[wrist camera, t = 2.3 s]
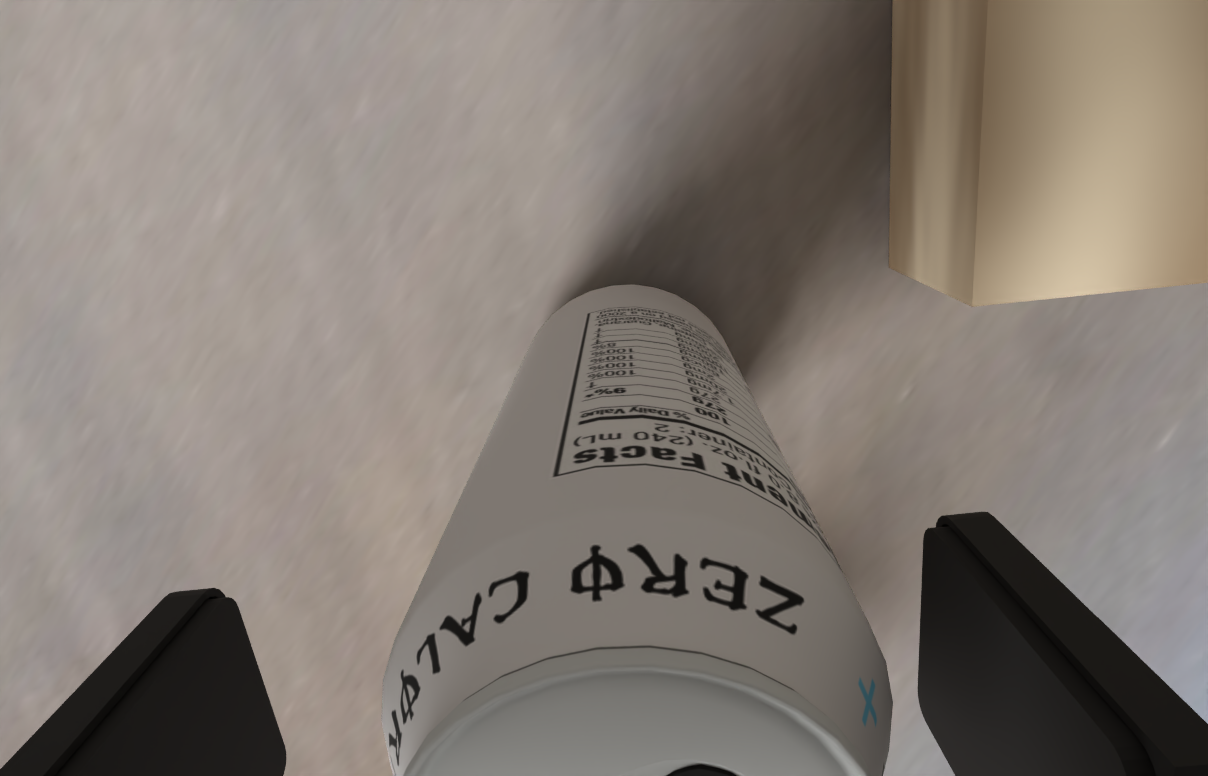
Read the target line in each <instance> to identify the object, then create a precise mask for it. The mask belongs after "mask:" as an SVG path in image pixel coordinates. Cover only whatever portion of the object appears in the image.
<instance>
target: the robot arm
mask: <svg viewBox="0 0 1208 776" xmlns="http://www.w3.org/2000/svg"><path fill="white" fill-rule="evenodd" d="M918 698H919V704H920V708H921V711H922V714H923V717H924V719H925V721H926V723H927V725H928V727H929V728H930V730H931V732H932V734H933V736H934V738H935V739H936V741H937V743H938V745H939V747H940V748H941V750H942V752H943V754H944V756H945V758H946V759H947V761H948V763H949V765H950V767H951V768H952V770H953V772H954V774H955V776H1208V724H1207V723H1206V722H1205V721H1204V720H1203V719H1202V718H1201V717H1200V716H1199V715H1198V714H1197V713H1196V712H1195V711H1194V710H1193V709H1192V708H1191V707H1190V706H1189V705H1188V704H1187V703H1186V702H1185V701H1183V700H1182V699H1181V698H1180V697H1179V696H1178V695H1177V694H1176V693H1175V692H1174V691H1173V690H1172V689H1171V688H1170V687H1169V686H1168V685H1167V684H1166V683H1165V682H1164V681H1163V680H1162V679H1161V678H1160V677H1159V676H1158V675H1157V674H1156V673H1155V672H1154V671H1153V670H1152V669H1151V668H1150V667H1148V666H1147V665H1146V664H1145V663H1144V662H1143V661H1142V660H1141V659H1140V658H1139V657H1138V656H1137V655H1136V654H1135V653H1134V652H1133V651H1132V650H1131V649H1130V648H1129V647H1128V646H1127V645H1126V644H1125V643H1124V642H1123V641H1122V640H1121V639H1120V638H1119V637H1118V636H1117V635H1116V634H1115V633H1113V632H1112V631H1111V630H1110V629H1109V628H1108V627H1107V626H1106V625H1105V624H1104V623H1103V622H1102V621H1101V620H1100V619H1099V618H1098V617H1097V616H1095V615H1094V614H1093V613H1092V612H1091V611H1090V610H1089V609H1088V608H1087V607H1086V606H1085V605H1084V604H1083V603H1082V602H1081V601H1080V600H1079V599H1078V598H1077V597H1076V596H1075V595H1074V594H1073V593H1072V592H1071V591H1070V590H1069V589H1068V588H1067V587H1066V586H1065V585H1064V584H1063V583H1061V582H1060V581H1059V580H1058V579H1057V578H1056V577H1055V576H1054V575H1053V574H1052V573H1051V572H1050V571H1049V570H1048V569H1047V568H1046V567H1045V566H1044V565H1043V564H1042V563H1041V562H1040V561H1039V560H1038V559H1037V558H1036V557H1035V556H1034V555H1033V554H1032V553H1031V552H1030V551H1029V550H1028V549H1027V548H1025V547H1024V546H1023V545H1022V544H1021V543H1020V542H1019V541H1018V540H1017V539H1016V538H1015V537H1014V536H1013V535H1012V534H1011V533H1010V532H1009V531H1008V530H1007V529H1006V528H1005V527H1004V526H1003V525H1002V524H1001V523H1000V522H999V521H998V520H997V519H996V518H995V517H994V516H992V515H991V514H990V513H988V512H975V513H965V514H955V515H945V516H941V517H940V518H939V519H938V521H937V523H936V528H928V529H927V530H926V531H925V534H924V540H923V565H922V591H921V617H920V643H919V670H918ZM285 766H286V749H285V745H284V742H283V739H282V736H281V733H280V730H279V727H278V724H277V721H276V718H275V715H274V712H273V709H272V706H271V703H270V700H269V697H268V694H267V691H266V688H265V685H264V682H263V679H262V676H261V674H260V671H259V668H258V665H257V662H256V659H255V656H254V653H253V650H252V647H251V644H250V641H249V638H248V635H247V632H246V629H245V626H244V623H243V620H242V617H241V614H240V611H239V608H238V606H237V603H236V602H235V601H234V600H233V599H232V598H229V597H227V598H226V597H225V595H224V594H223V593H222V592H221V591H220V590H219V589H216V588H209V589H199V590H189V591H179V592H173V593H170V594H168V595H167V596H166V597H164V598H163V599H162V600H161V602H160V603H159V604H158V605H157V606H156V607H155V608H154V609H153V610H152V611H151V612H150V613H149V614H148V615H147V616H146V617H145V618H144V619H143V620H142V621H141V622H140V624H139V625H138V626H137V627H136V628H135V629H134V630H133V631H132V632H131V633H130V634H129V635H128V636H127V637H126V638H125V639H124V640H123V641H122V642H121V643H120V644H119V646H118V647H117V648H116V649H115V650H114V651H113V652H112V653H111V654H110V655H109V656H108V657H107V658H106V659H105V660H104V661H103V662H102V663H101V664H100V665H99V666H98V668H97V669H96V670H95V671H94V672H93V673H92V674H91V675H90V676H89V677H88V678H87V679H86V680H85V681H84V682H83V683H82V684H81V685H80V686H79V687H78V688H77V690H76V691H75V692H74V693H73V694H72V695H71V696H70V697H69V698H68V699H67V700H66V701H65V702H64V703H63V704H62V705H61V706H60V707H59V708H58V709H57V710H56V712H55V713H54V714H53V715H52V716H51V717H50V718H49V719H48V720H47V721H46V722H45V723H44V724H43V725H42V726H41V727H40V728H39V729H38V730H37V731H36V732H35V734H34V735H33V736H32V737H31V738H30V739H29V740H28V741H27V742H26V743H25V744H24V745H23V746H22V747H21V748H20V749H19V750H18V751H17V752H16V753H15V754H14V756H13V757H12V758H11V759H10V760H9V761H8V762H7V763H6V764H5V765H4V766H3V767H2V768H1V769H0V776H283V774H284V771H285Z"/></svg>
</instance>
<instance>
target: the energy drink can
mask: <svg viewBox="0 0 1208 776" xmlns="http://www.w3.org/2000/svg"><path fill="white" fill-rule="evenodd" d="M892 706H893V701H892V695H891V689H890V683H889V677H888V671H887V665H886V661H885V659H884V656H883V654H882V652H881V650H880V647H879V645H878V643H877V641H876V638H875V636H874V634H873V632H872V629H871V627H870V625H869V623H868V621H867V619H866V617H865V615H864V613H863V611H862V609H861V607H860V605H859V603H858V601H857V599H856V597H855V595H854V593H853V591H852V589H851V587H850V585H849V583H848V581H847V579H846V577H845V576H844V574H843V572H842V570H841V568H840V566H839V564H838V562H837V560H836V558H835V556H834V554H833V552H832V550H831V548H830V546H829V544H828V542H827V540H826V538H825V536H824V534H823V532H822V531H821V529H820V527H819V525H818V523H817V521H816V519H815V517H814V515H813V513H812V511H811V509H810V507H809V505H808V503H807V501H806V499H805V497H804V495H803V493H802V491H801V489H800V487H799V486H798V484H797V482H796V480H795V478H794V476H793V474H792V472H791V470H790V468H789V466H788V464H787V462H786V460H785V458H784V456H783V454H782V452H781V450H780V448H779V446H778V444H777V442H776V441H775V439H774V437H773V435H772V433H771V431H770V429H769V427H768V425H767V423H766V421H765V419H764V417H763V415H762V413H761V411H760V409H759V407H758V405H757V403H756V401H755V399H754V397H753V396H752V394H751V392H750V390H749V388H748V386H747V384H746V382H745V380H744V378H743V376H742V374H741V372H740V370H739V368H738V366H737V364H736V362H735V360H734V358H733V356H732V354H731V352H730V350H729V349H728V347H727V345H726V343H725V341H724V339H723V337H722V335H721V334H720V333H719V331H718V330H717V329H716V327H715V326H714V324H713V323H712V322H711V320H710V319H709V318H708V317H706V316H705V315H704V314H703V313H702V312H701V311H700V310H699V309H698V308H696V307H695V306H694V305H692V304H691V303H689V302H687V301H686V300H684V299H682V298H681V297H679V296H677V295H675V294H672V293H670V292H667V291H664V290H661V289H658V288H655V287H648V286H641V285H634V284H632V285H615V286H608V287H604V288H600V289H596V290H593V291H589V292H587V293H585V294H583V295H581V296H579V297H577V298H575V299H573V300H571V301H569V302H568V303H567V304H565V305H564V306H563V307H561V308H560V309H559V310H557V311H556V312H555V313H553V314H552V316H551V317H550V318H549V319H548V320H547V321H546V322H545V324H544V325H543V326H542V327H541V328H540V329H539V331H538V333H537V334H536V336H535V338H534V340H533V341H532V343H531V345H530V347H529V349H528V351H527V353H526V355H525V358H524V360H523V362H522V364H521V366H520V368H519V371H518V373H517V375H516V377H515V379H514V381H513V384H512V386H511V388H510V390H509V392H508V394H507V397H506V399H505V401H504V403H503V405H502V408H501V410H500V412H499V414H498V416H497V418H496V421H495V423H494V425H493V427H492V429H491V431H490V434H489V436H488V438H487V440H486V442H485V444H484V447H483V449H482V451H481V453H480V455H479V457H478V460H477V462H476V464H475V466H474V468H473V471H472V473H471V475H470V477H469V479H468V481H467V484H466V486H465V488H464V490H463V492H462V494H461V497H460V499H459V501H458V503H457V505H456V507H455V510H454V512H453V514H452V516H451V518H450V521H449V523H448V525H447V527H446V529H445V531H444V534H443V536H442V538H441V540H440V542H439V544H438V547H437V549H436V551H435V553H434V555H433V557H432V560H431V562H430V564H429V566H428V568H427V571H426V573H425V575H424V577H423V579H422V581H421V584H420V586H419V588H418V590H417V592H416V594H415V597H414V599H413V601H412V603H411V605H410V607H409V610H408V612H407V614H406V616H405V618H404V621H403V623H402V625H401V627H400V629H399V631H398V634H397V636H396V638H395V641H394V644H393V647H392V651H391V654H390V658H389V661H388V664H387V668H386V671H385V675H384V678H383V696H382V726H383V731H384V736H385V741H386V746H387V750H388V755H389V760H390V765H391V769H392V772H393V776H883V773H884V769H885V764H886V760H887V756H888V752H889V743H890V731H891V718H892Z"/></svg>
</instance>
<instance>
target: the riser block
mask: <svg viewBox="0 0 1208 776" xmlns="http://www.w3.org/2000/svg"><path fill="white" fill-rule="evenodd" d="M889 268H891V269H893V270H895V271H897V272H899V273H901V274H904V275H906V276H908V277H910V278H912V279H914V280H916V281H918V282H921V283H923V284H925V285H927V286H929V287H931V288H933V289H935V290H938V291H940V292H942V293H944V294H946V295H948V296H950V297H952V298H955V299H957V300H959V301H961V302H963V303H965V304H967V305H969V306H972V307H975V306H984V305H994V304H1004V303H1013V302H1023V301H1033V300H1043V299H1052V298H1062V297H1072V296H1082V295H1091V294H1101V293H1111V292H1120V291H1130V290H1140V289H1150V288H1159V287H1169V286H1179V285H1189V284H1198V283H1208V0H893V5H892V77H891V149H890V221H889Z"/></svg>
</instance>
